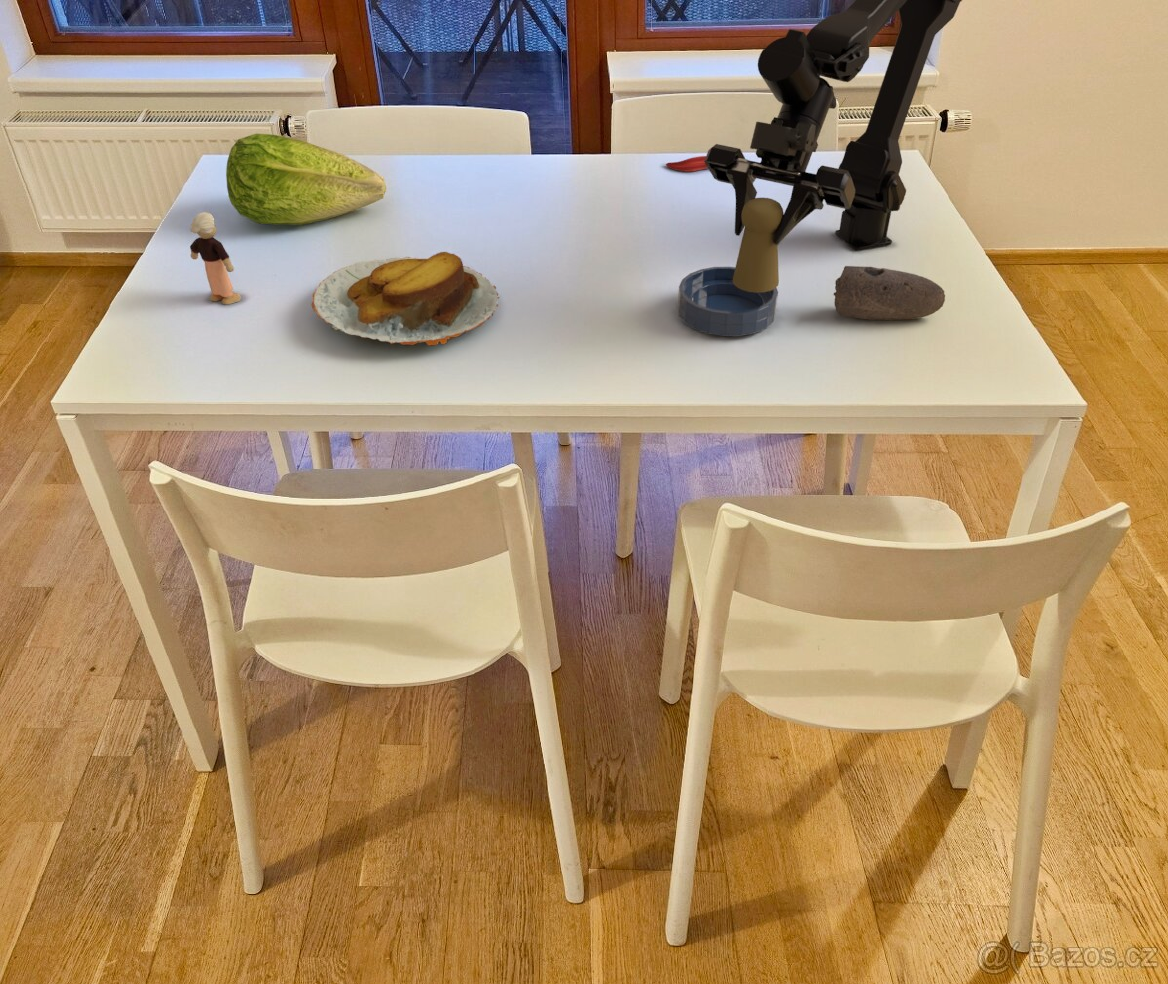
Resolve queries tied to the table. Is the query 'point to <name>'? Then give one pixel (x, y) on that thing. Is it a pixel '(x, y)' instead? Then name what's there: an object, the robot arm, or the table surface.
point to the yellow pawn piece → (758, 246)
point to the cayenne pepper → (689, 164)
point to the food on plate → (406, 299)
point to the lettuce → (296, 181)
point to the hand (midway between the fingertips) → (755, 239)
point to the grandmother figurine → (213, 259)
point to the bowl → (723, 304)
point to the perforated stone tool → (885, 294)
